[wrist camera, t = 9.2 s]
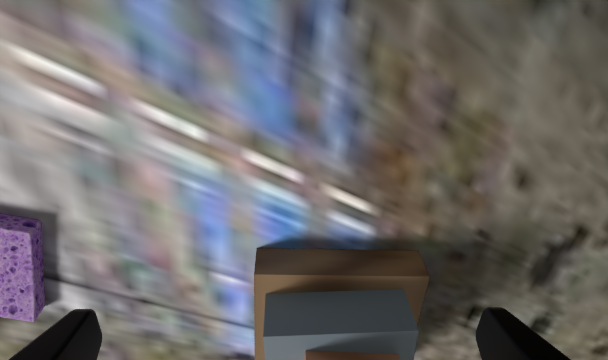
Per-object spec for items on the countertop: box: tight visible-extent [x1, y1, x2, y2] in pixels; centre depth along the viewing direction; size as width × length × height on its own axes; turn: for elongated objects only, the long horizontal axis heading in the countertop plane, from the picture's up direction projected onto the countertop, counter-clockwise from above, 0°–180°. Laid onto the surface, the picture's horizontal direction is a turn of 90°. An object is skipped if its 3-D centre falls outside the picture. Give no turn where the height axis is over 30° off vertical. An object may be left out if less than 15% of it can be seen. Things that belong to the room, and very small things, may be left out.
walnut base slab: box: [254, 248, 430, 360], centre depth 26 cm, size 10×10×3 cm
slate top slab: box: [263, 289, 419, 360], centre depth 24 cm, size 8×8×3 cm
